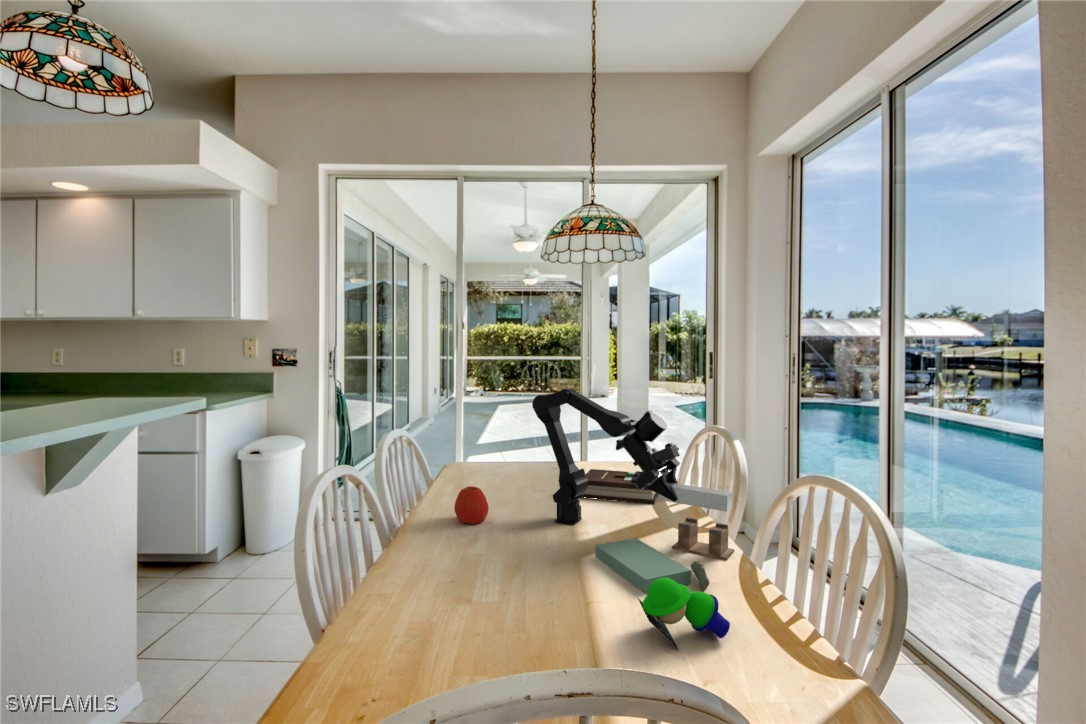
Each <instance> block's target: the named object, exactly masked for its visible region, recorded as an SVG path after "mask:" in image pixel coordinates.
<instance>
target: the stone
mask: <svg viewBox="0 0 1086 724" xmlns="http://www.w3.org/2000/svg"><path fill="white" fill-rule="evenodd" d="M690 570H691V572H692V573H693V574H694V576H695V578H696V580H697V582H698V584H699V586H700V589H701V592H704V593H705V591H706V590H707V589H708V587H709V585H710V579H709V578H708V576H707V572H706V570H705V567H704V564H703V563H701V562H700V561H699V560H694V561H693V562H692V563H691V564H690Z"/></svg>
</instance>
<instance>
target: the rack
mask: <svg viewBox="0 0 1086 724" xmlns="http://www.w3.org/2000/svg"><path fill="white" fill-rule="evenodd" d="M677 524H678V526H677V528H678V529H677V530H678V531H677V532H678V533H677V537H678V538H677V542H675V543H674V544H673V545H672V546H671V548H672V549H673V550H678V551H681V550H682V552H686V551H687V553H690V552H691V553H690V554H696V555H700V556H705V557H710V558H714V559H718V560H723V561H726V560H727V561H728V560H729V558H730V557H731V556H732V555H733V554H734V553H735V548H731V547H729V524H725V523H720V522H716V523H715V526H714V527H713V528H709V529H708V543H706V542H702V541H698V539H699V538H698V536H699V535H698V533H699V531H698V528H699V520H698V518H694V517H688V516H687V517H685V521H684V522H679V523H677Z"/></svg>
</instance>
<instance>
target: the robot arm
mask: <svg viewBox="0 0 1086 724" xmlns="http://www.w3.org/2000/svg"><path fill="white" fill-rule="evenodd" d="M565 404H566V405H567V404H568V406H570V407H572V408H573V409H575V410H578V411H579V412H580V413H582V414H583V415H586V416H588V417H589V418H590V419H592V420H594V421H596V423H597V424H598V425H599V426H600V429H602V430H603V431H604V432H605V433H606V434H608V435H609V436H610V437H613V438H617V437H621V436H624V435H625V436H624V437H623V438H621V439H617V440H615V441H616V442H615V443H616V444H615V445H616V446H615V450H616V451H620V450H621V449H624V450H625V451H626V453H627V454H628V455H629V456H630V458H632V460H633V461H634V462H632V464H633V465H634V467H636V466H638V467H639V468H640V470H641V472H642V471H643V473H642V474H641V475H640V476H639V477H638V478H637V479H636V480H635V485H636V487H637V488H638V489H639V490H642V489H643V488H645V485H647V484H648V483H649V485H650V486H649V487H647V489H648V490H652V491H654V492H656V493H658V495H659V494H660V495H662V496H664V497H666V498H668V499H670V500H672V501H674V502H675V501H677V497H676V496H675V494H674V492H673V491H672V489H671V488H670V486H669V485H668V483H667V482H669V483H676V484H679V482H678V480H677V477H676V475H677V474H676V473H677V468H678V466H680V465H681V462H680V461H679V460H678V459H677V457H680V453H679V449H680V448H679V446H677V444H674V443H673V441H672V442H669V443H666V444H665V445H664V448H662V449H659V450H658V449H657V448H656V447H652V448H651V446H650V445H649V444H648V443H647V442H649V443H652V442H654V441H655V440H656V439H657V438H658V437H659V436H661V434H662V433H664V432H665V430H667V429H668V425H667V423H666V421H665V420H664V419H663V418H662V417H660V416H659V415H657V414H656V413H653V411H652V410H646V412H645V413H644V414H643V416H641V417H640V419H638V420H635V419H631V417H629V416H628V415H627V414H623V413H621V412H619V411H615V410H611V409H607V408H606V407H604V406H602V405H600V404H598V402H597V403H596V401H593V400H591V399H590V398H588V397H586V396H585V395H584V394H582V393H579V392H578V391H577V390H576V389H574V388H572V387H571V388H569V387H568V388H563V389H561V390H558V391H555V392H551V393H544V394H543V393H542V394H538V395H536V396H535V397H534V399H533V401H532V404H531V405H532V408H533V411H534V412H535V415H536V417H537V418H538V420H539V421H540V422H542V424H544V427H545V430H546V432H547V436H548V439H549V442H550V444H551V445H550V446H551V448H552V451H553V453H554V457H555V461H556V463H557V467H558V468H559V470H558V471H559V472H558V473H559V475H558V484H559V485H558V486H559V488H558V490H557V491H555V492H554V494H552V499H553V502H554V503H556V518H555V519H554V520H553V521H554V522H555V523H559V524H566V525H573V526H575V525H576V524H577V523H579V521H580V522H581V520H582V519H583V518H582V505H580V504H581V503H580V501H581V500H580V499H583V498H582V496H583V493H585V492H586V490H587V488H588V484H587V482H588V479H587V478H586V475H585V474H586V471H585V469H584V468H579V467H578V466H577V465H576V464H575V461H574V458H573V455H572V452H571V448H570V447H569V444H568V443H569V442H568V441H567V438H566V434H565V431H564V428H563V425H562V422H561V412H562V411H561V410H562V409H561V406H563V405H565ZM630 432H632V433H630ZM674 502H673V503H674Z"/></svg>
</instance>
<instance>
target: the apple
mask: <svg viewBox="0 0 1086 724" xmlns="http://www.w3.org/2000/svg"><path fill="white" fill-rule="evenodd" d="M453 507H454V509H453V510H454V513H455V516H456V518H457V520H459V522H460V523H462V524H467V523H468V524H469V525H477V523H478V524H482V523H483V522H485V520H486V518H487V516H488V515H489V503H488V501H487V497H486V496H485V494H484V492H483V490H482V489H481V488H479V487H477V486H474V485H473V486H470V485H469V486H466V487H464V488H461V490H460V491H459V492H458V495H457V496H456V499H455V501H454V506H453Z"/></svg>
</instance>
